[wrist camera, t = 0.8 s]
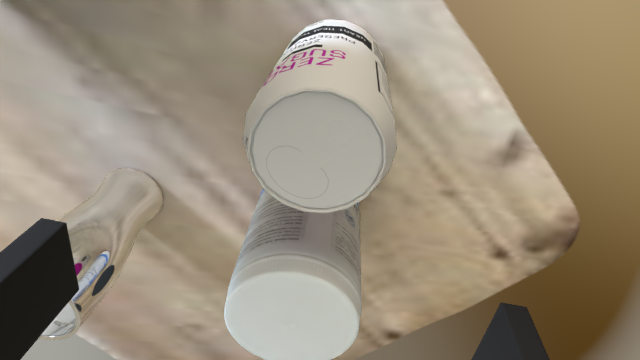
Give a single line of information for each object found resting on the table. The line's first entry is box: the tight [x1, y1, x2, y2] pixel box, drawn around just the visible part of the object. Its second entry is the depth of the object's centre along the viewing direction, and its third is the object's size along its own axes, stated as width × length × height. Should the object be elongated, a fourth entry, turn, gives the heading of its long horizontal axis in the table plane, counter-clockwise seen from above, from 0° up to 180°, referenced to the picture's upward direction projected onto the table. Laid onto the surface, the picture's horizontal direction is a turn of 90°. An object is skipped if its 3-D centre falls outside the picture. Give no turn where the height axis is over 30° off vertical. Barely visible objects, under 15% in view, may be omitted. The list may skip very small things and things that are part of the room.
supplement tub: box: [224, 188, 361, 360], centre depth 34 cm, size 10×10×15 cm
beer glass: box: [39, 168, 163, 340], centre depth 35 cm, size 7×7×15 cm
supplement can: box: [243, 20, 397, 213], centre depth 27 cm, size 8×8×15 cm
